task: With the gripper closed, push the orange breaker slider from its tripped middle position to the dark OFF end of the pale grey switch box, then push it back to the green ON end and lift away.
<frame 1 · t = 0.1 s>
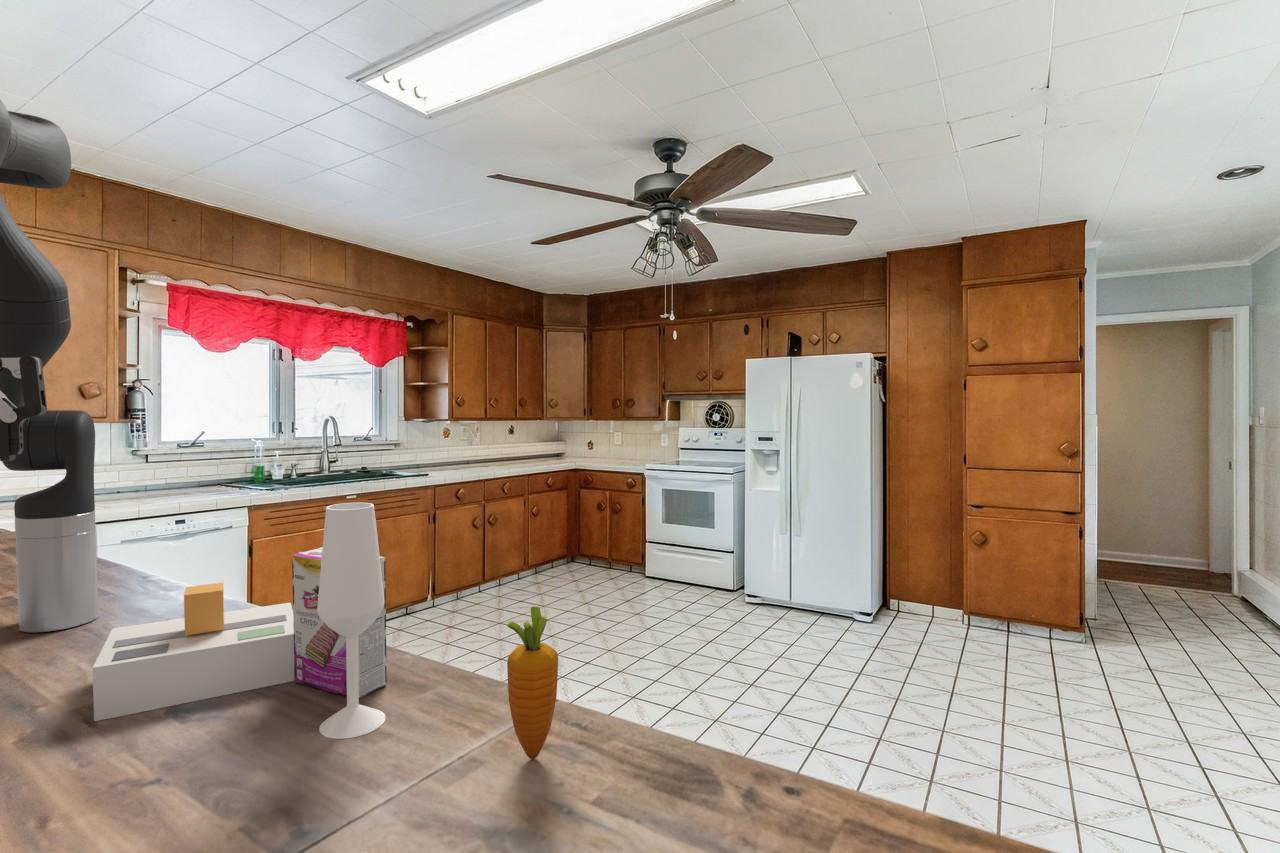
carrot: (532, 761, 64), on the counter
champagne flute: (353, 724, 71), on the counter
breaker slider: (204, 608, 81), point 9 cm above the counter, slide at 0.0 cm
candy bar box: (340, 686, 80), on the counter
switch box: (206, 677, 82), on the counter
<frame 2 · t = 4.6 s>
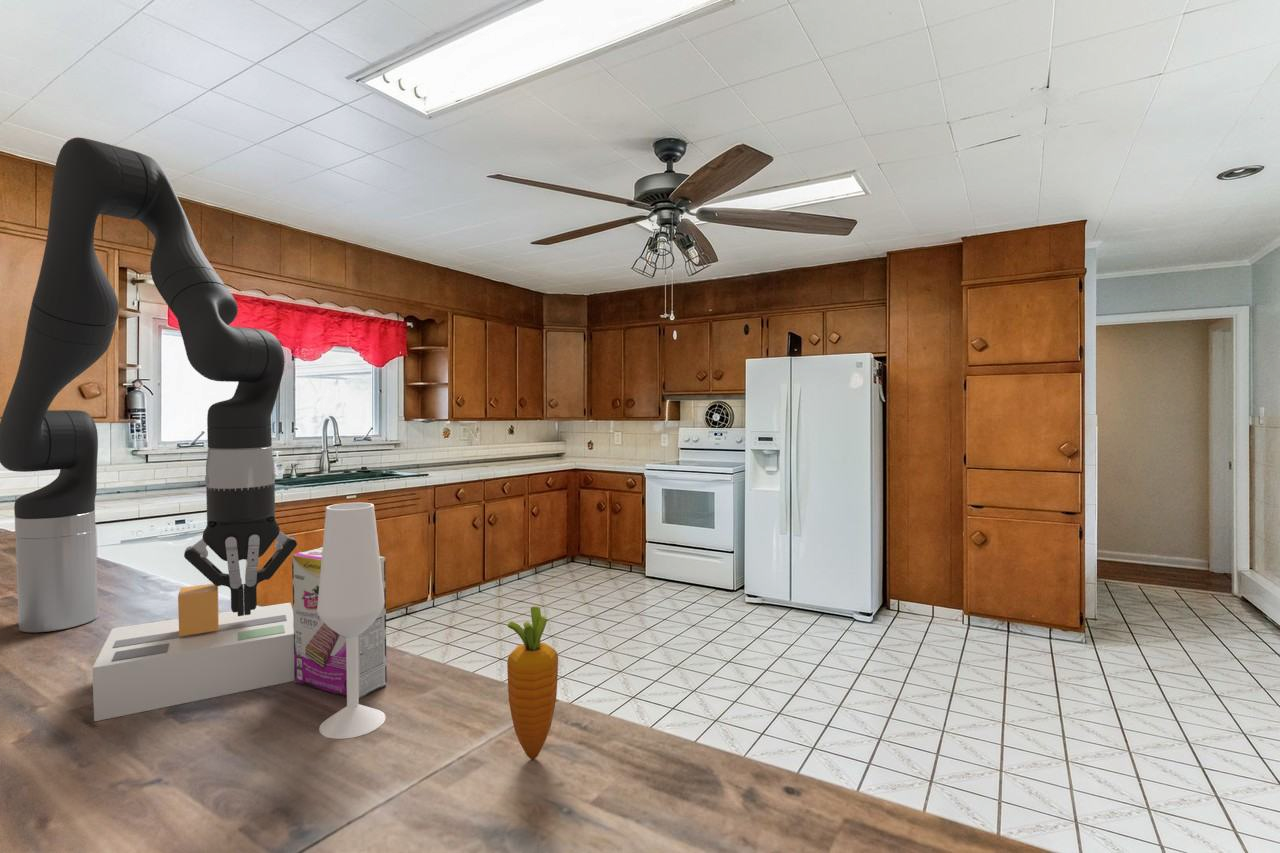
hand: (243, 613, 84), 7 cm above the counter, fingers closed
breaker slider: (199, 608, 81), point 9 cm above the counter, slide at -0.6 cm, touching gripper
everything else where it was.
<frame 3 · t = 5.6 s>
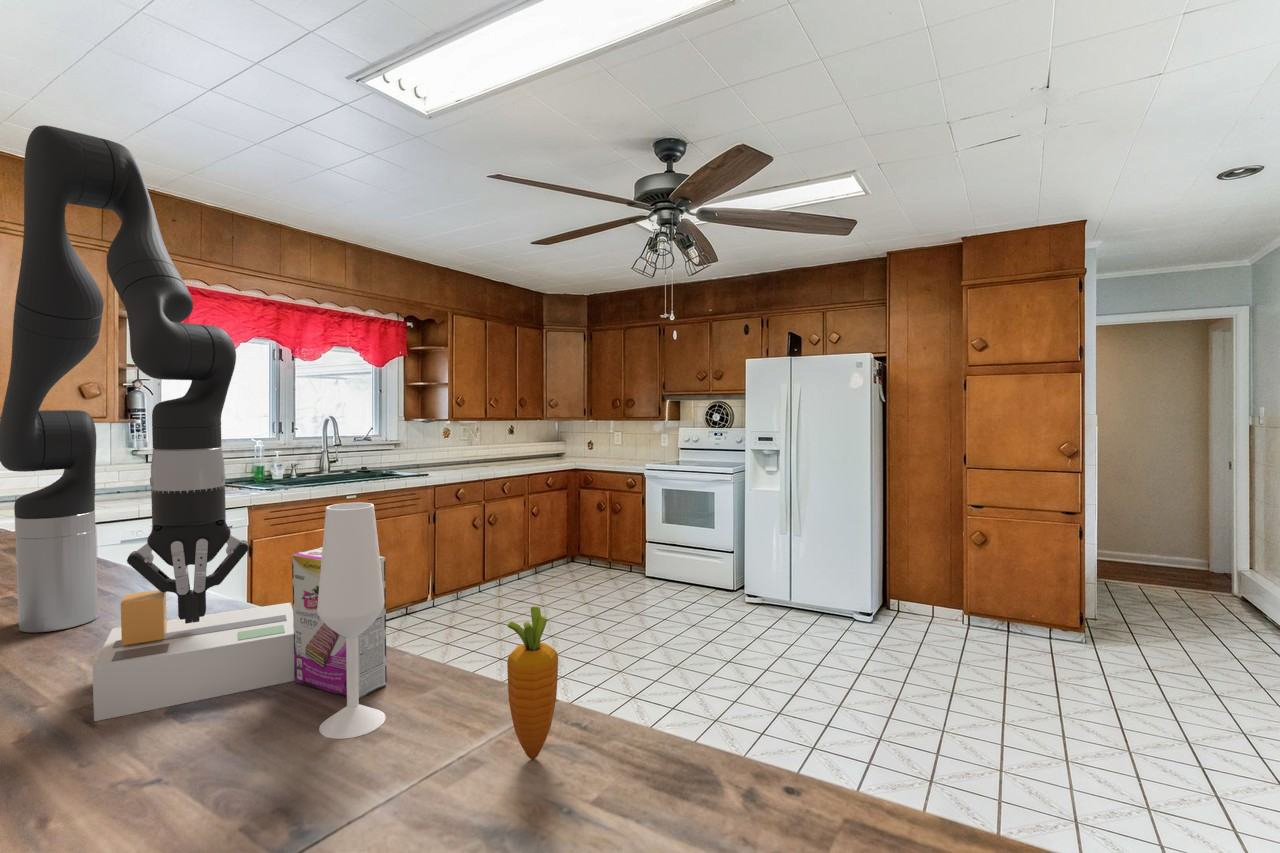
hand: (192, 620, 81), 7 cm above the counter, fingers closed
breaker slider: (144, 616, 78), point 9 cm above the counter, slide at -6.1 cm, touching gripper
everything else where it was.
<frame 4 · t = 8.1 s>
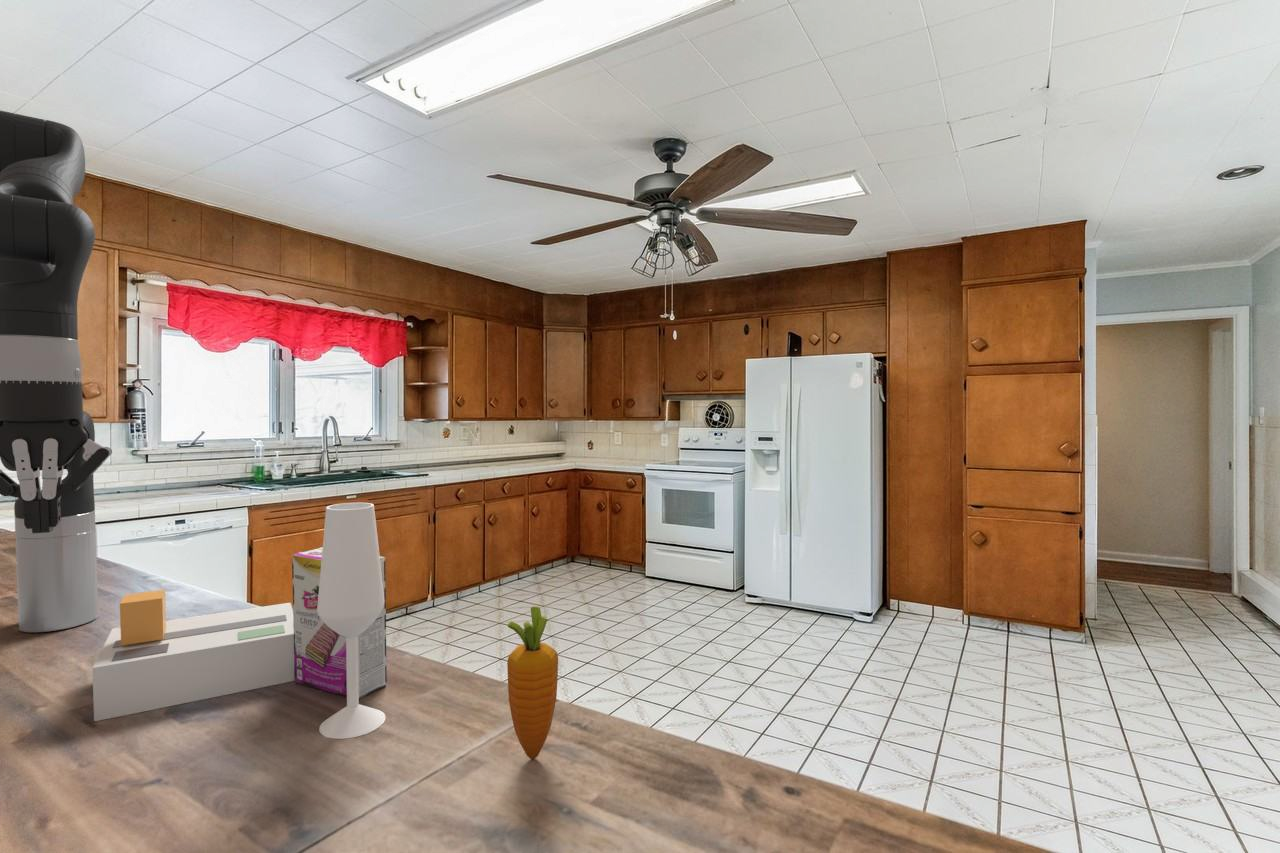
hand: (42, 531, 73), 20 cm above the counter, fingers closed
breaker slider: (143, 616, 78), point 9 cm above the counter, slide at -6.1 cm
everything else where it was.
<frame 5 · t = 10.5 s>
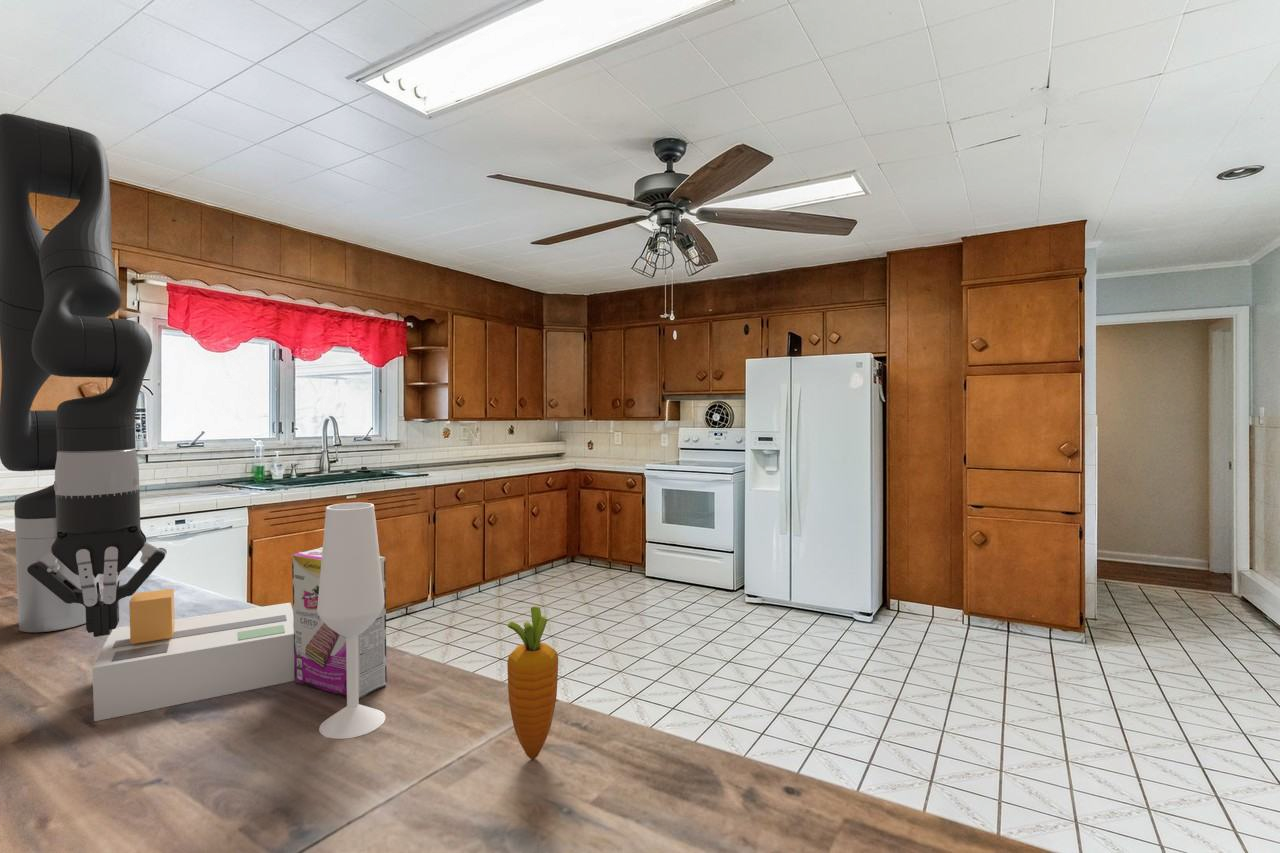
hand: (102, 633, 76), 8 cm above the counter, fingers closed
breaker slider: (152, 615, 78), point 9 cm above the counter, slide at -5.2 cm, touching gripper
everything else where it was.
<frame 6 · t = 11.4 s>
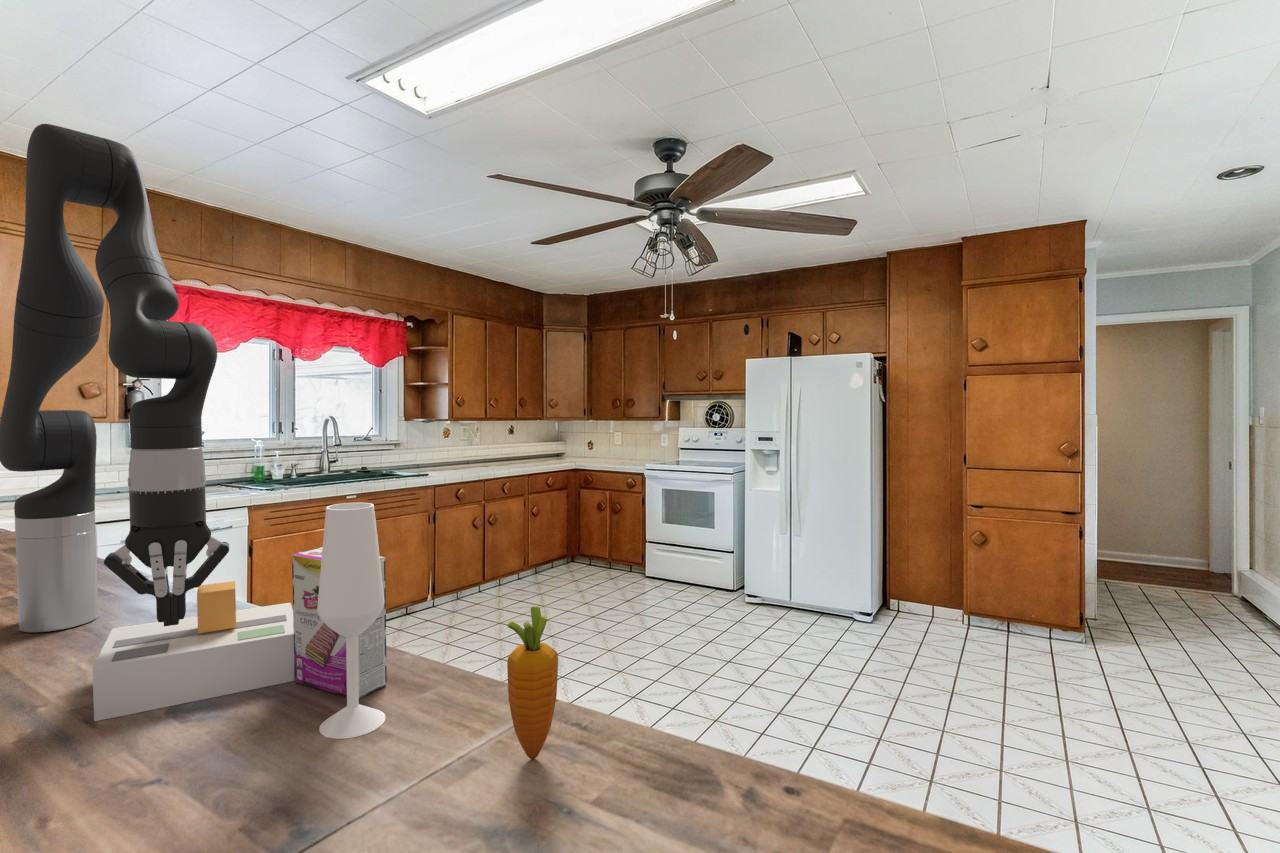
hand: (171, 623, 79), 8 cm above the counter, fingers closed
breaker slider: (217, 606, 82), point 9 cm above the counter, slide at 1.3 cm, touching gripper
everything else where it was.
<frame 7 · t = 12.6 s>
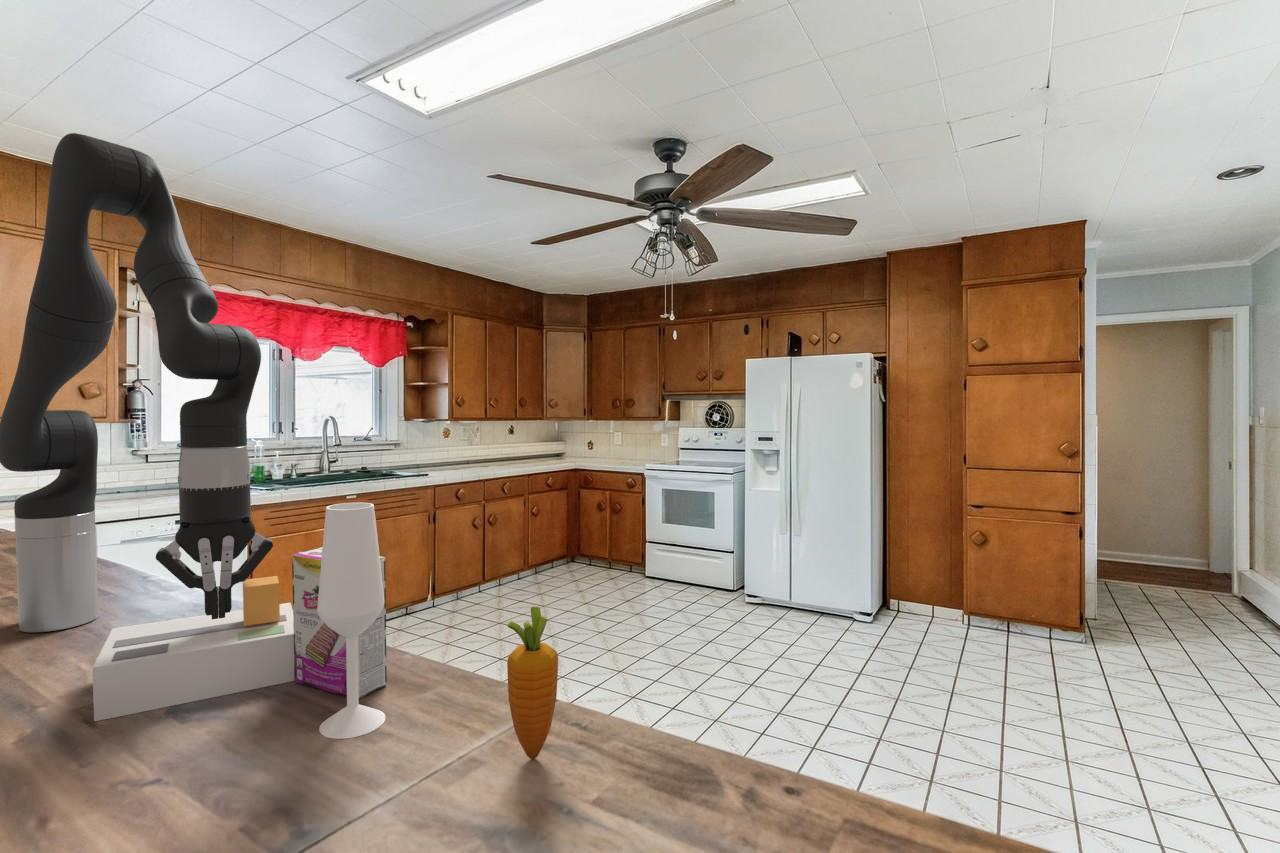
hand: (218, 616, 82), 8 cm above the counter, fingers closed
breaker slider: (261, 600, 84), point 9 cm above the counter, slide at 6.2 cm, touching gripper
everything else where it was.
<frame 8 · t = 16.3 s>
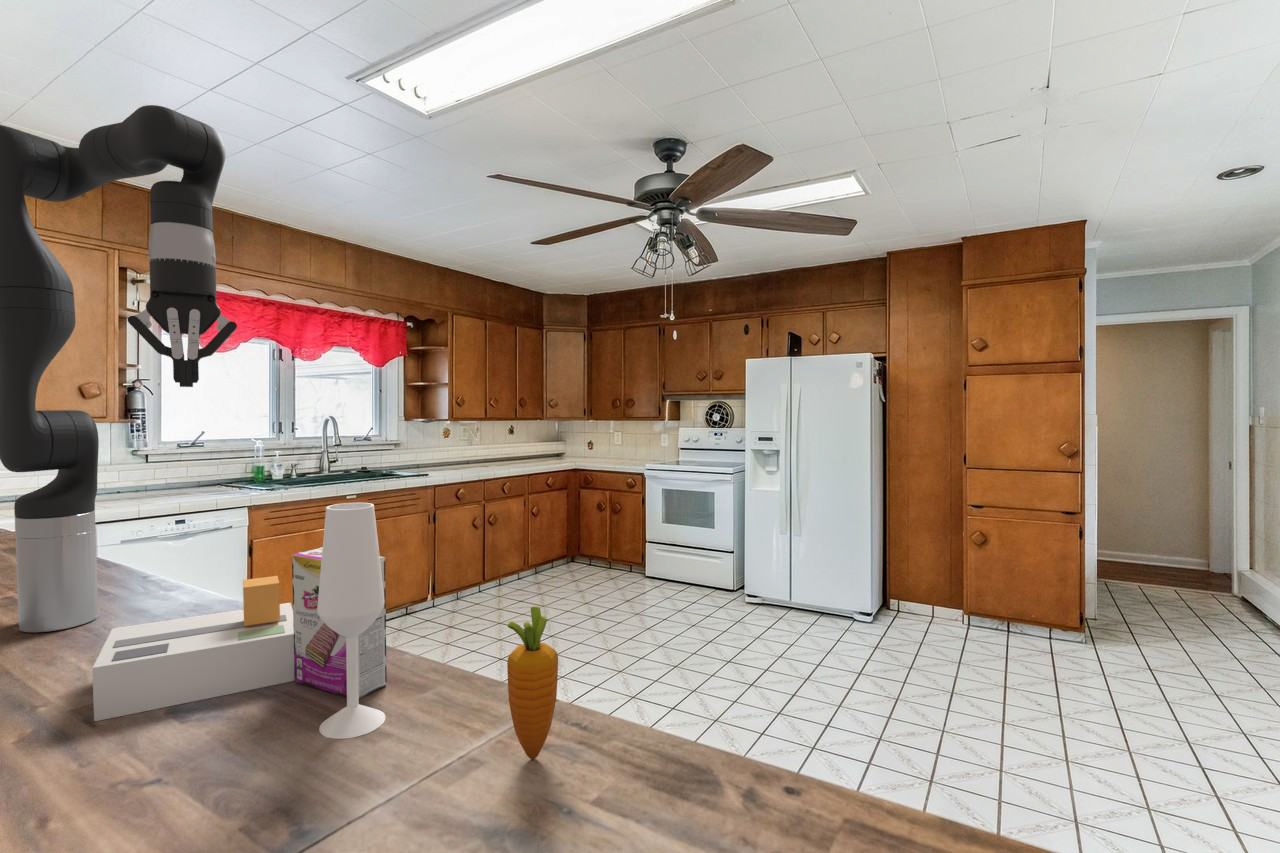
hand: (186, 386, 90), 37 cm above the counter, fingers closed
breaker slider: (261, 600, 84), point 9 cm above the counter, slide at 6.2 cm
everything else where it was.
at the end: breaker slider slide at 6.2 cm; candy bar box moved 0.3 cm from its start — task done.
